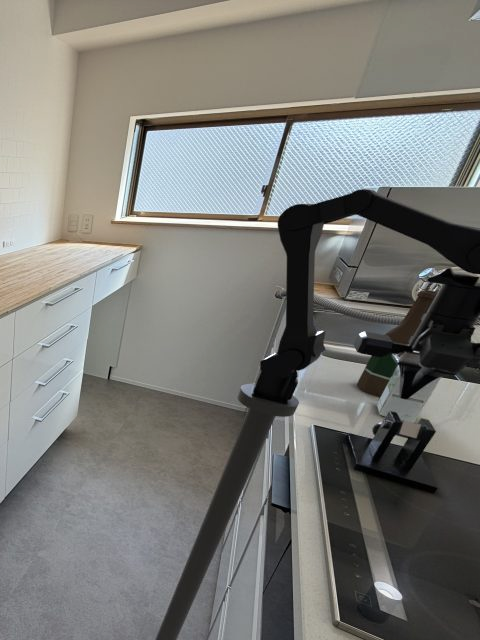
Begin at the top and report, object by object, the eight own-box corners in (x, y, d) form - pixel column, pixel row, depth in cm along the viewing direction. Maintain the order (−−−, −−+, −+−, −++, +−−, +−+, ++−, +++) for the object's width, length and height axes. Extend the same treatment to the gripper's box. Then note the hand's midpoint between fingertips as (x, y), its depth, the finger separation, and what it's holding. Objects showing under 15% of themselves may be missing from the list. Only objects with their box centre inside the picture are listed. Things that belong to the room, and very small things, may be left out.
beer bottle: (355, 380, 103) (404, 285, 93) (396, 390, 99) (454, 292, 88) (356, 391, 98) (409, 291, 87) (400, 402, 94) (461, 298, 83)
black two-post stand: (345, 437, 79) (366, 397, 75) (415, 457, 74) (442, 415, 70) (353, 469, 70) (378, 425, 66) (434, 493, 65) (466, 448, 61)
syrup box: (414, 424, 85) (454, 360, 78) (376, 414, 88) (412, 352, 81) (409, 413, 89) (447, 351, 82) (374, 404, 92) (407, 344, 85)
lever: (367, 436, 79) (372, 420, 79) (389, 442, 78) (394, 426, 77) (393, 435, 69) (400, 417, 69) (419, 441, 67) (426, 423, 67)
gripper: (385, 314, 66) (342, 399, 73) (565, 341, 56) (495, 436, 63) (374, 300, 74) (335, 378, 81) (528, 322, 65) (470, 407, 72)
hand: (402, 398), depth 74 cm, fingers closed
